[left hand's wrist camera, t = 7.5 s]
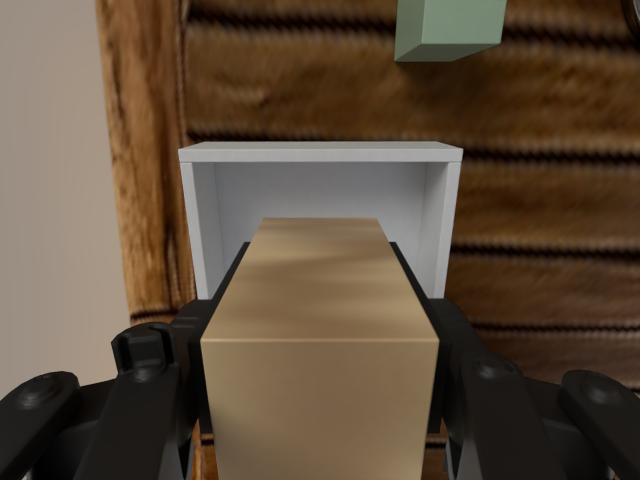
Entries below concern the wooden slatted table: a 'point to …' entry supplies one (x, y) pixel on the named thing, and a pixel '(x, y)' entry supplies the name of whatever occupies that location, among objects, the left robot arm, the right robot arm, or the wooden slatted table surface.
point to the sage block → (446, 28)
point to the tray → (320, 197)
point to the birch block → (319, 358)
